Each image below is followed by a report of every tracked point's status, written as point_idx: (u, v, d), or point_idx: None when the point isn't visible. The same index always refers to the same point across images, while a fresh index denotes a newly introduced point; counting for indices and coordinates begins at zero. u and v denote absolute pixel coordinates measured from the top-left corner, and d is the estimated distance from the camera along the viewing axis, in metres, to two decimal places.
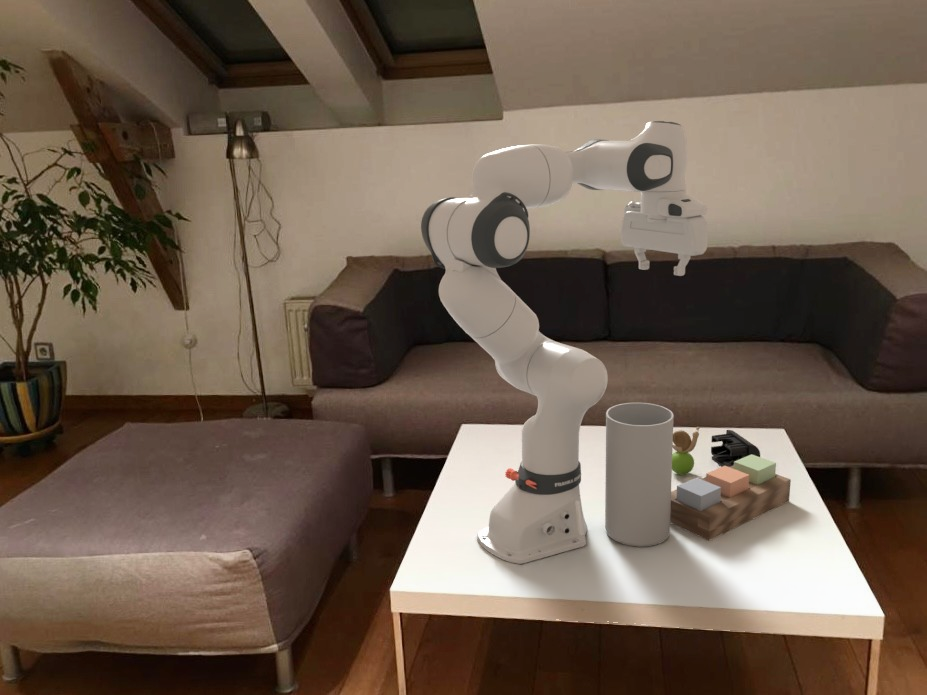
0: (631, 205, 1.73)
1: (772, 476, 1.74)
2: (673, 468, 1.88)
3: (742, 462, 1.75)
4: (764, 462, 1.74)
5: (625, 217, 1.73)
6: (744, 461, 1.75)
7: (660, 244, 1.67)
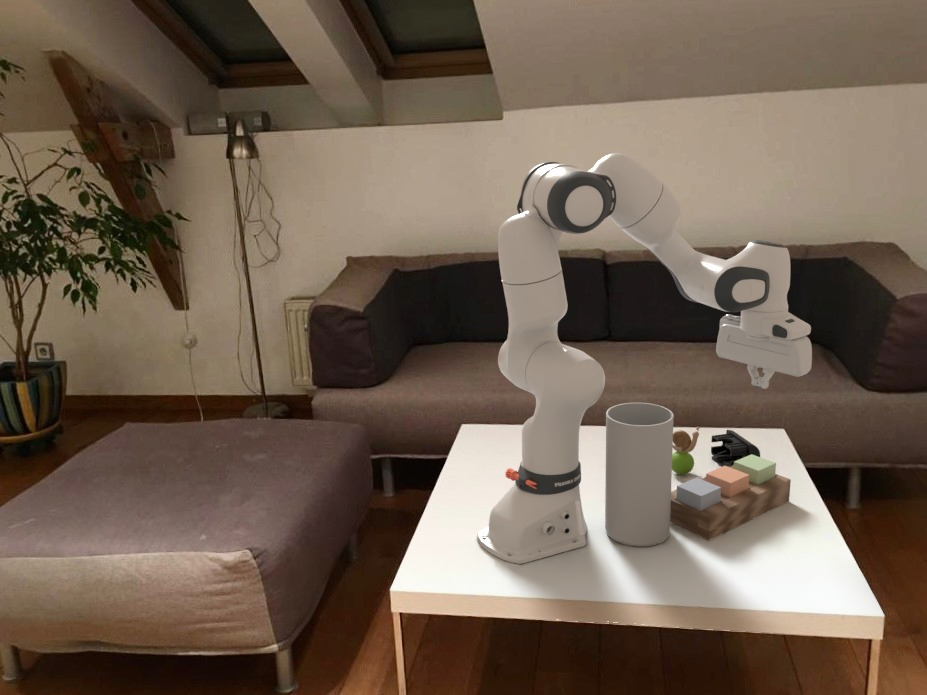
0: (728, 318, 1.72)
1: (772, 476, 1.74)
2: (673, 468, 1.88)
3: (742, 462, 1.75)
4: (764, 462, 1.74)
5: (722, 330, 1.73)
6: (744, 461, 1.75)
7: (760, 361, 1.66)
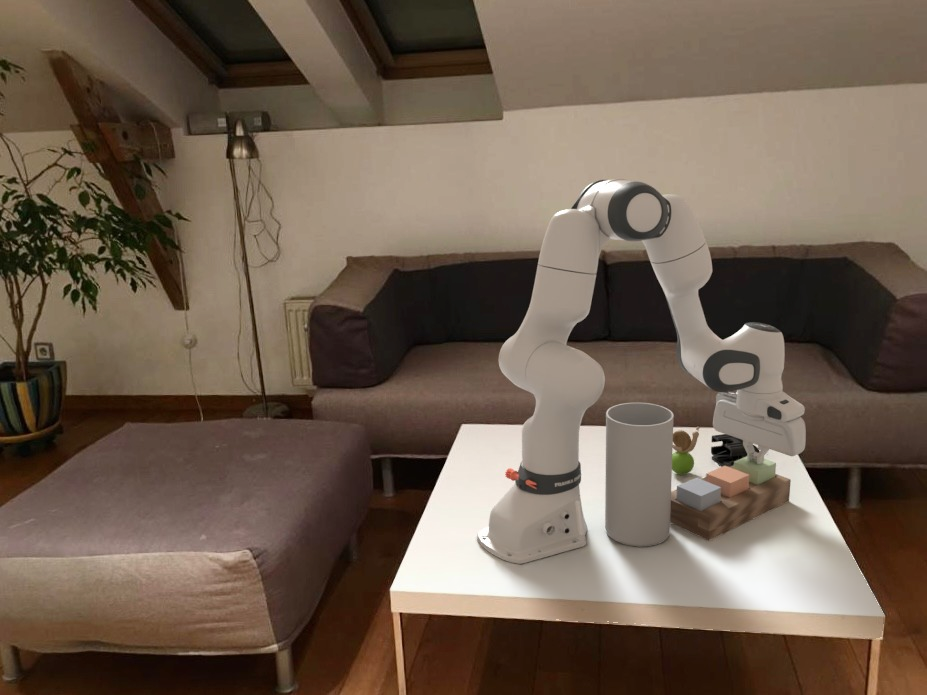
0: (724, 394, 1.77)
1: (772, 476, 1.74)
2: (673, 468, 1.88)
3: (742, 462, 1.75)
4: (764, 462, 1.74)
5: (718, 405, 1.77)
6: (744, 461, 1.75)
7: (756, 439, 1.71)
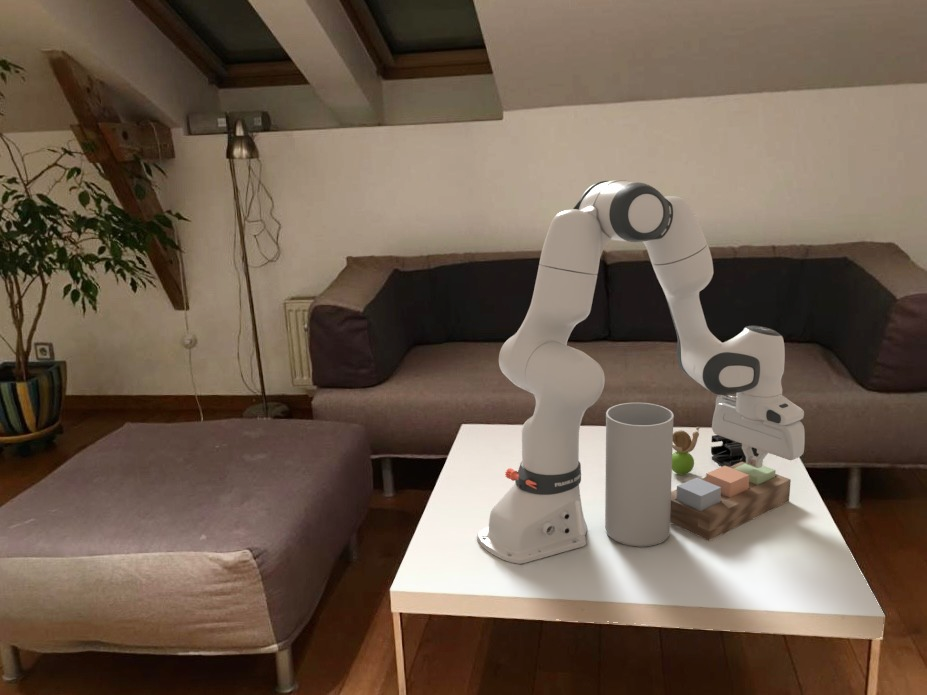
0: (724, 397, 1.77)
1: None
2: (673, 468, 1.88)
3: (742, 469, 1.75)
4: (764, 469, 1.75)
5: (718, 408, 1.77)
6: (744, 468, 1.75)
7: (755, 442, 1.71)
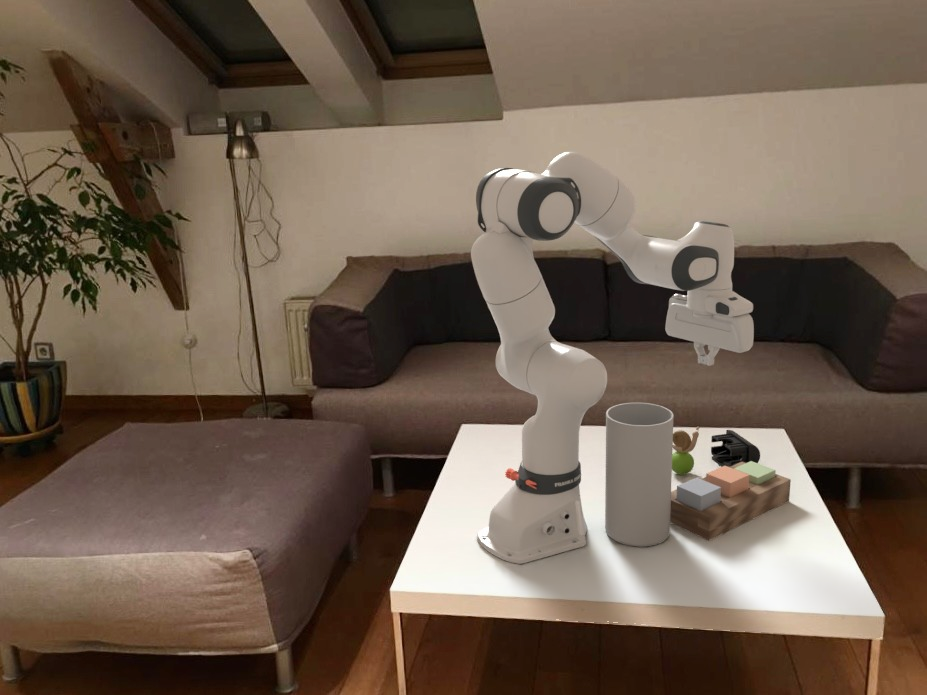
0: (676, 297, 1.78)
1: None
2: (673, 468, 1.88)
3: (742, 469, 1.75)
4: (764, 469, 1.75)
5: (670, 308, 1.78)
6: (744, 468, 1.75)
7: (706, 338, 1.72)
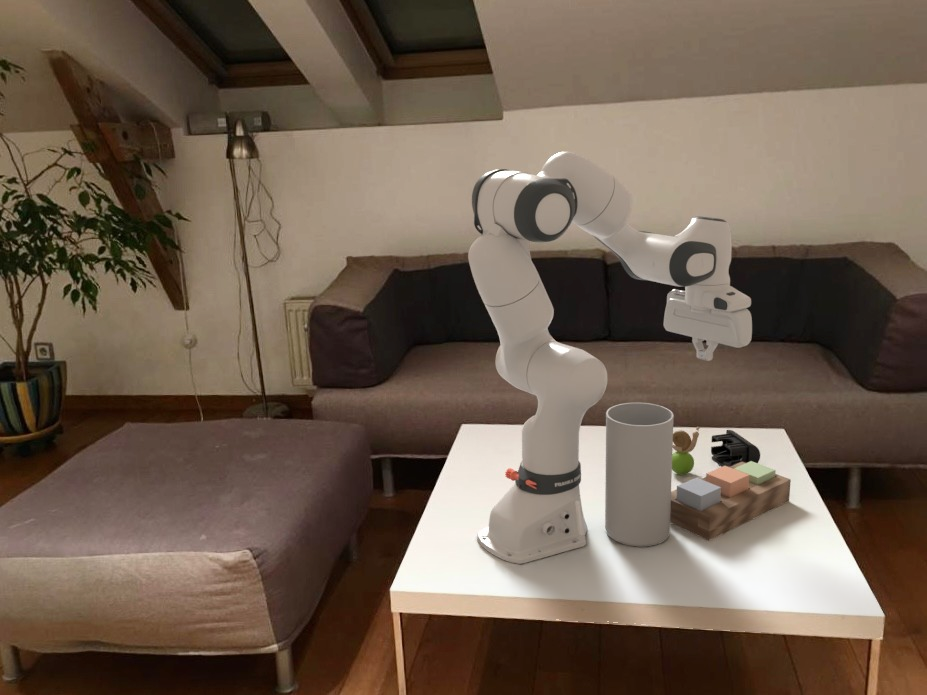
0: (674, 292, 1.78)
1: None
2: (673, 468, 1.88)
3: (742, 469, 1.75)
4: (764, 469, 1.75)
5: (668, 304, 1.78)
6: (744, 468, 1.75)
7: (704, 334, 1.72)
